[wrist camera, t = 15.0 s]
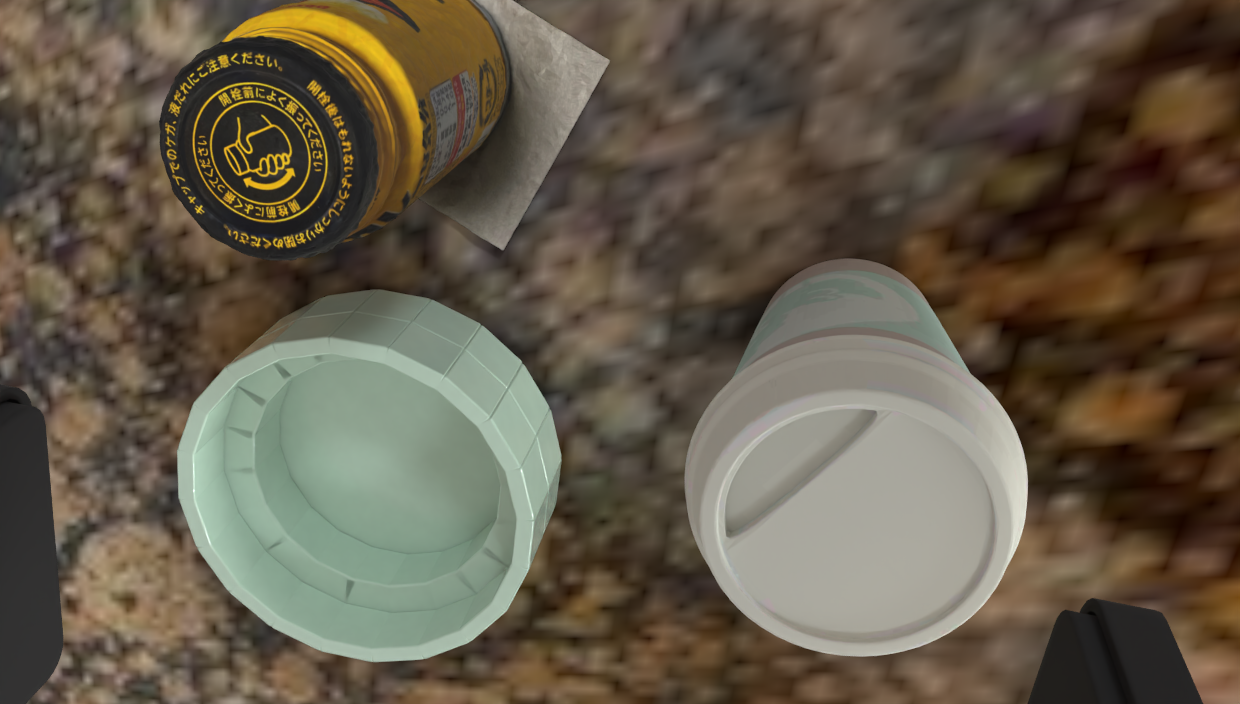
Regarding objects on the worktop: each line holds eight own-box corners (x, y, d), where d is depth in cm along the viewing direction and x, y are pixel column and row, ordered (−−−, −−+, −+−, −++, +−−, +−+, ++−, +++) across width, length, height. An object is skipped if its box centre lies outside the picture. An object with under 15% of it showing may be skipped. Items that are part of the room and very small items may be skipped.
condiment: (374, -87, 36) (179, -58, 25) (611, 60, 37) (519, 148, 26) (285, 115, 39) (77, 218, 28) (505, 247, 40) (383, 398, 29)
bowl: (243, 257, 42) (172, 307, 37) (581, 318, 40) (550, 378, 36) (244, 547, 47) (181, 622, 42) (546, 608, 45) (514, 693, 41)
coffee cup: (955, 189, 37) (1008, 333, 26) (1000, 431, 40) (1065, 652, 29) (689, 248, 39) (636, 404, 28) (750, 473, 42) (723, 694, 31)
